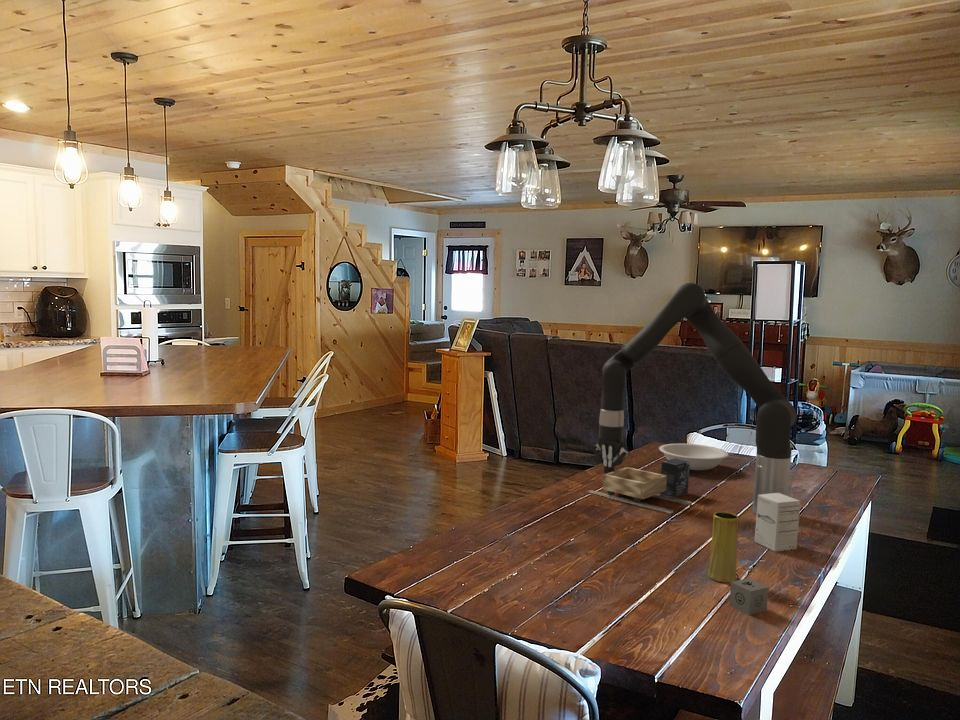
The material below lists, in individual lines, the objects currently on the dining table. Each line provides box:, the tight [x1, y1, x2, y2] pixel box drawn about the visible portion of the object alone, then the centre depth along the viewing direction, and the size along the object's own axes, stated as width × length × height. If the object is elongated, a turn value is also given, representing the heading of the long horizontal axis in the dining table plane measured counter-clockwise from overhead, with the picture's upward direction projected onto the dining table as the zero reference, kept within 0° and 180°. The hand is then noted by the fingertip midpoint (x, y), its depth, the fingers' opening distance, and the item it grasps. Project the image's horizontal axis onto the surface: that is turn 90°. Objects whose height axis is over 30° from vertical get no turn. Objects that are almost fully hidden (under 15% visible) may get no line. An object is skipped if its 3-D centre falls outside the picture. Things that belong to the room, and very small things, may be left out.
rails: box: [587, 489, 693, 515], centre depth 221 cm, size 28×14×1 cm, turn 48°
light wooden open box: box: [602, 466, 667, 502], centre depth 221 cm, size 14×14×6 cm
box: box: [659, 458, 690, 498], centre depth 227 cm, size 8×6×11 cm
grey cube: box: [729, 577, 769, 616], centre depth 146 cm, size 5×5×5 cm
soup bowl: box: [658, 443, 729, 471], centre depth 261 cm, size 24×24×7 cm
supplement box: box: [754, 493, 802, 552], centre depth 182 cm, size 7×7×13 cm
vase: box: [707, 511, 739, 584], centre depth 160 cm, size 6×6×14 cm
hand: (608, 477), depth 228 cm, fingers closed
